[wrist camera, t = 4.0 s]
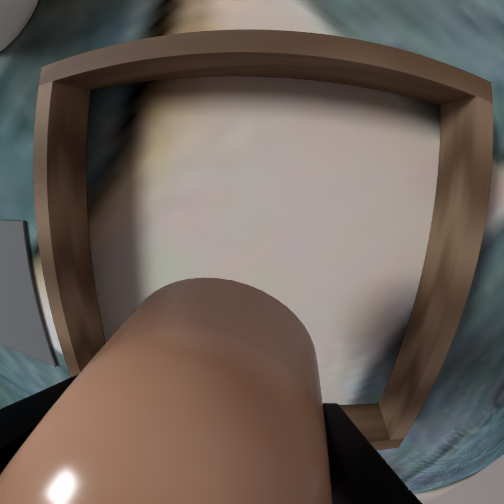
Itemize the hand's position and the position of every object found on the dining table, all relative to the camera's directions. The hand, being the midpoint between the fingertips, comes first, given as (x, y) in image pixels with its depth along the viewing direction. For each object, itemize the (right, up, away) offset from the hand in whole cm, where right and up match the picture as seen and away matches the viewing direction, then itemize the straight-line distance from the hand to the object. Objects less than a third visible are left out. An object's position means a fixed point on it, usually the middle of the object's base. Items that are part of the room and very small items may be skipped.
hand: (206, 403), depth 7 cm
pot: (0, +1, +1) cm, 2 cm away
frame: (+1, +3, +10) cm, 11 cm away
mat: (-24, 0, +14) cm, 28 cm away
